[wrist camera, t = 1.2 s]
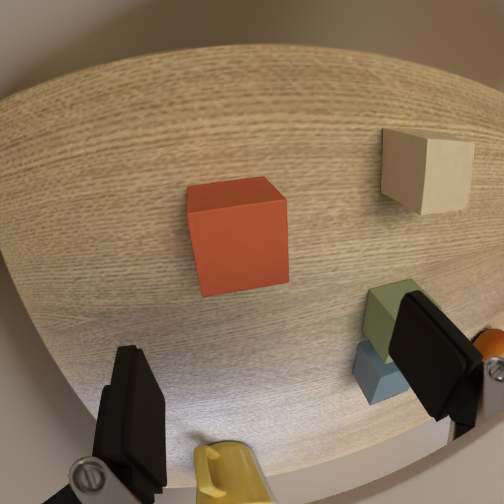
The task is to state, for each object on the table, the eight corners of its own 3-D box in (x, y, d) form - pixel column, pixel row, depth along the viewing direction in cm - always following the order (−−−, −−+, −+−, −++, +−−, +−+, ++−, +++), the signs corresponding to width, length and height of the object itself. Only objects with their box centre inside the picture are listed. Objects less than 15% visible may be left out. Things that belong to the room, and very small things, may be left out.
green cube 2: (369, 289, 26) (397, 323, 21) (411, 278, 26) (441, 307, 22) (361, 329, 28) (385, 364, 24) (401, 317, 29) (426, 348, 24)
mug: (265, 454, 38) (281, 512, 29) (199, 466, 37) (208, 524, 28) (252, 413, 32) (272, 492, 22) (168, 427, 31) (173, 505, 21)
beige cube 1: (382, 127, 19) (427, 138, 15) (430, 130, 20) (475, 142, 15) (380, 192, 21) (420, 215, 17) (426, 188, 22) (466, 209, 18)
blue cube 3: (358, 343, 29) (380, 378, 25) (397, 331, 30) (421, 361, 25) (352, 373, 31) (369, 405, 27) (388, 360, 32) (407, 390, 28)
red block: (187, 186, 19) (186, 213, 14) (264, 176, 19) (287, 199, 15) (198, 255, 21) (202, 297, 17) (268, 244, 22) (289, 282, 17)
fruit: (474, 382, 38) (506, 390, 30) (450, 367, 37) (484, 375, 30) (491, 338, 39) (524, 341, 31) (469, 319, 39) (504, 320, 31)
